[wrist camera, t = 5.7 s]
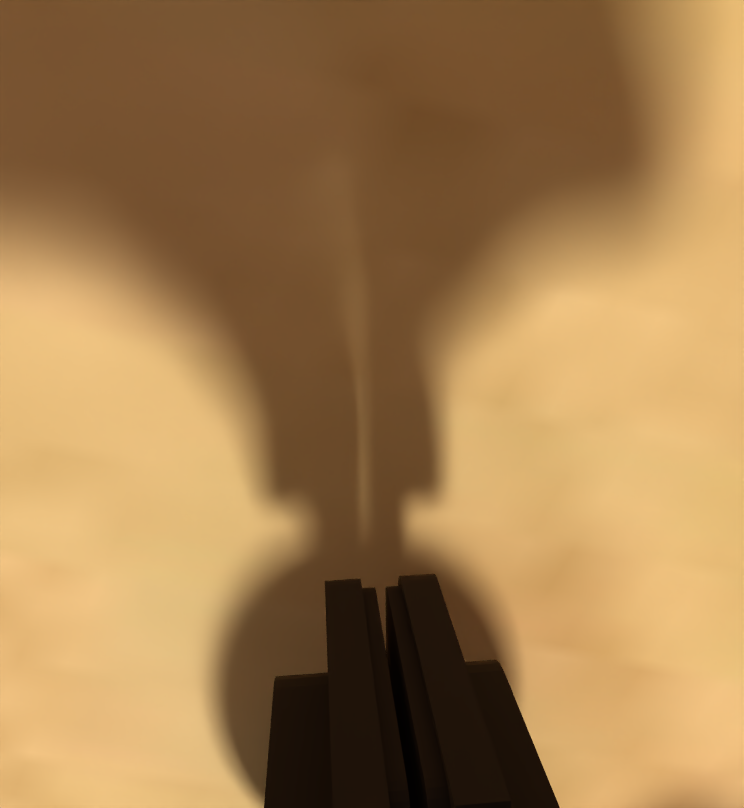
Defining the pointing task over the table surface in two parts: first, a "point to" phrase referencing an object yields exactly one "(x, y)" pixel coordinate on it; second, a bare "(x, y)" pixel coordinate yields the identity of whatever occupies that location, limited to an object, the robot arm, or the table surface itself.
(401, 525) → the table surface
